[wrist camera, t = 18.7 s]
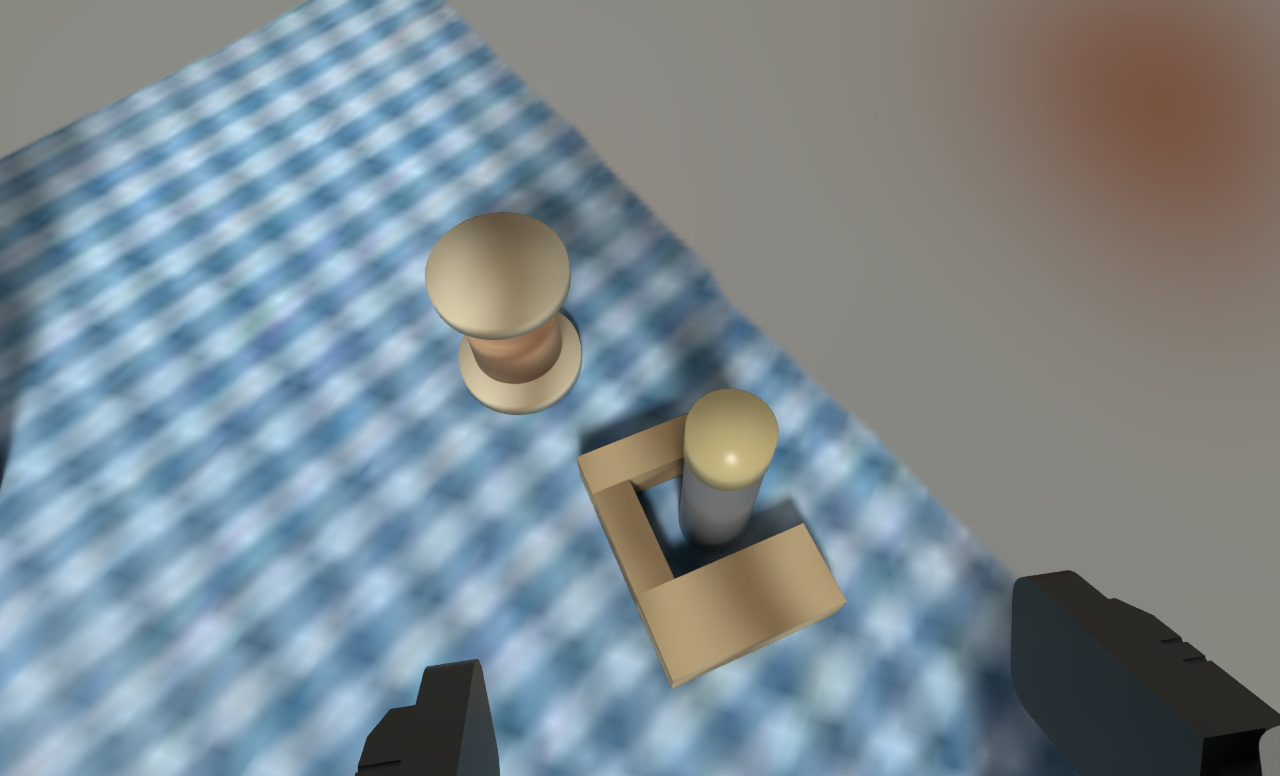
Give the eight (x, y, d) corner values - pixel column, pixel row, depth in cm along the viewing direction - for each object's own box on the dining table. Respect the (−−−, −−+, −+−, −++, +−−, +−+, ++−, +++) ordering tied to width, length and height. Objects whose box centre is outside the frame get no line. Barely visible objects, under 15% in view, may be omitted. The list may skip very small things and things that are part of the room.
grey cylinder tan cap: (695, 565, 42) (709, 486, 32) (665, 501, 44) (670, 408, 34) (761, 537, 43) (795, 451, 33) (729, 475, 44) (751, 375, 35)
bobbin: (483, 432, 46) (449, 349, 38) (446, 335, 49) (407, 238, 41) (600, 388, 47) (590, 298, 39) (557, 295, 50) (539, 195, 42)
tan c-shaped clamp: (671, 688, 39) (672, 680, 37) (579, 474, 44) (576, 457, 42) (836, 613, 41) (846, 601, 39) (729, 415, 46) (733, 395, 44)
